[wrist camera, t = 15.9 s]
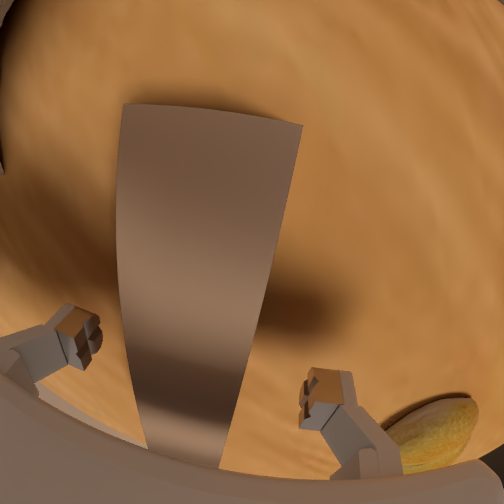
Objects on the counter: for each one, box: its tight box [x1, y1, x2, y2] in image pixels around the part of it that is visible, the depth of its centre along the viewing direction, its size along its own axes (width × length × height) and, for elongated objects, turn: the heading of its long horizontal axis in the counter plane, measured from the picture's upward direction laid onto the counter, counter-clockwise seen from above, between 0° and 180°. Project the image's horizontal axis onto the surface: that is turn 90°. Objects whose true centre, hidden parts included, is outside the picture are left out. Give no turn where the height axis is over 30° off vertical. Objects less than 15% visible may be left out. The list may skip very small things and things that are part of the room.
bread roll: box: [385, 397, 479, 475], centre depth 14 cm, size 8×9×4 cm
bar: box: [116, 104, 303, 468], centre depth 10 cm, size 16×4×5 cm, turn 170°
